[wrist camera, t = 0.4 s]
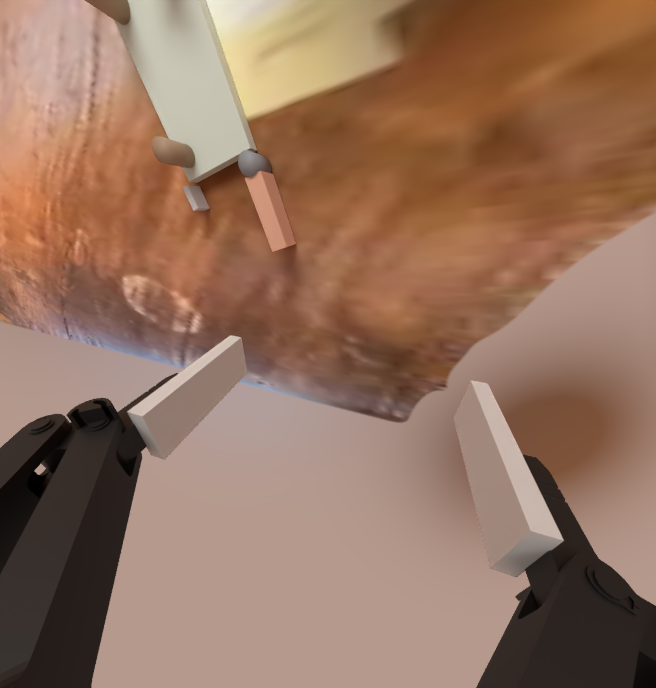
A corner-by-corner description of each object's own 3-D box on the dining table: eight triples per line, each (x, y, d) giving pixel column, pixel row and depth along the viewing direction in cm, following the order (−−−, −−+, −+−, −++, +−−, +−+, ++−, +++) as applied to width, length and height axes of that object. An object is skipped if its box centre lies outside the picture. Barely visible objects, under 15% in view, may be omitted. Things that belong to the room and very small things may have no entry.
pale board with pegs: (114, 11, 28) (55, -30, 23) (182, -67, 23) (128, -136, 19) (204, 210, 36) (175, 210, 32) (267, 181, 32) (244, 176, 27)
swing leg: (250, 160, 31) (234, 155, 28) (266, 152, 30) (251, 146, 27) (282, 248, 36) (271, 252, 33) (296, 243, 35) (286, 247, 32)
